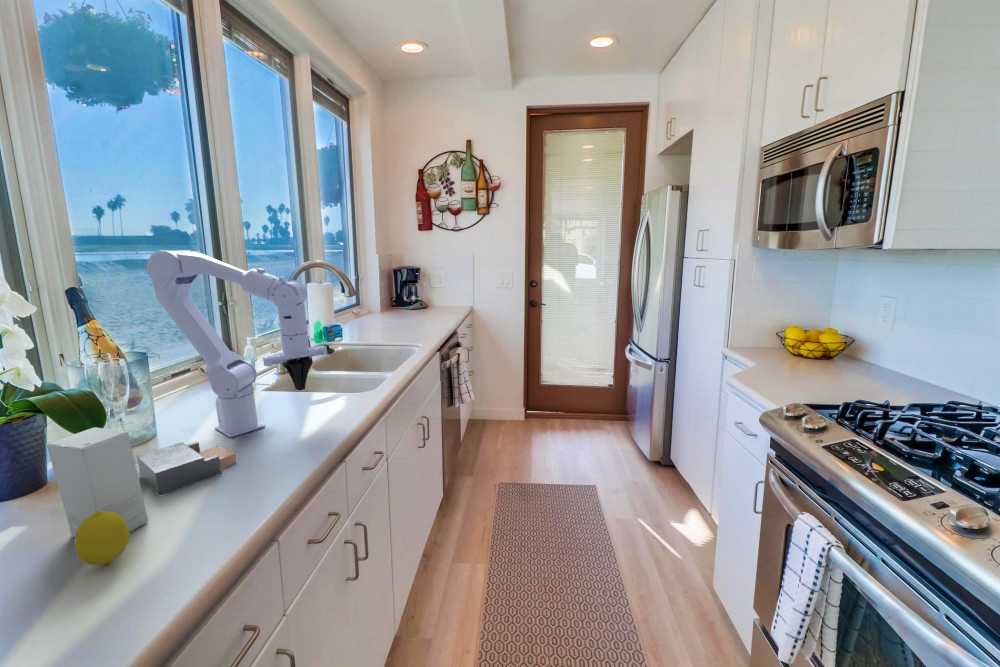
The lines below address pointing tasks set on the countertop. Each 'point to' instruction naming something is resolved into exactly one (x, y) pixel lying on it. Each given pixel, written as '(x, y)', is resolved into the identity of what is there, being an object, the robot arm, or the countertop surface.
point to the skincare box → (97, 476)
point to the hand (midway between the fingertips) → (300, 389)
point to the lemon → (101, 538)
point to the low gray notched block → (176, 467)
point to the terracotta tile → (220, 455)
